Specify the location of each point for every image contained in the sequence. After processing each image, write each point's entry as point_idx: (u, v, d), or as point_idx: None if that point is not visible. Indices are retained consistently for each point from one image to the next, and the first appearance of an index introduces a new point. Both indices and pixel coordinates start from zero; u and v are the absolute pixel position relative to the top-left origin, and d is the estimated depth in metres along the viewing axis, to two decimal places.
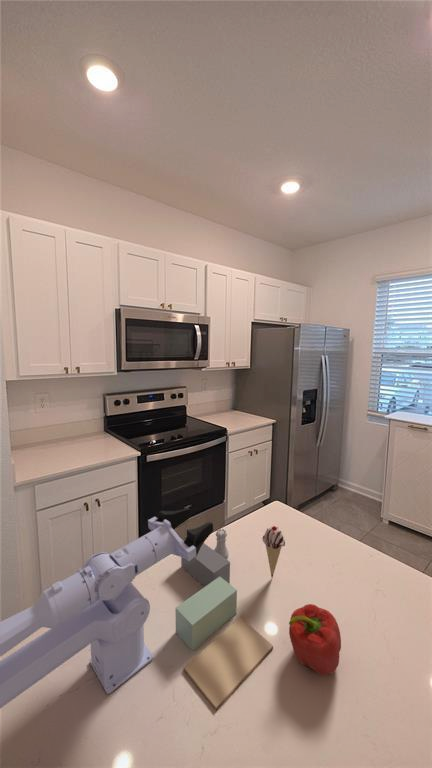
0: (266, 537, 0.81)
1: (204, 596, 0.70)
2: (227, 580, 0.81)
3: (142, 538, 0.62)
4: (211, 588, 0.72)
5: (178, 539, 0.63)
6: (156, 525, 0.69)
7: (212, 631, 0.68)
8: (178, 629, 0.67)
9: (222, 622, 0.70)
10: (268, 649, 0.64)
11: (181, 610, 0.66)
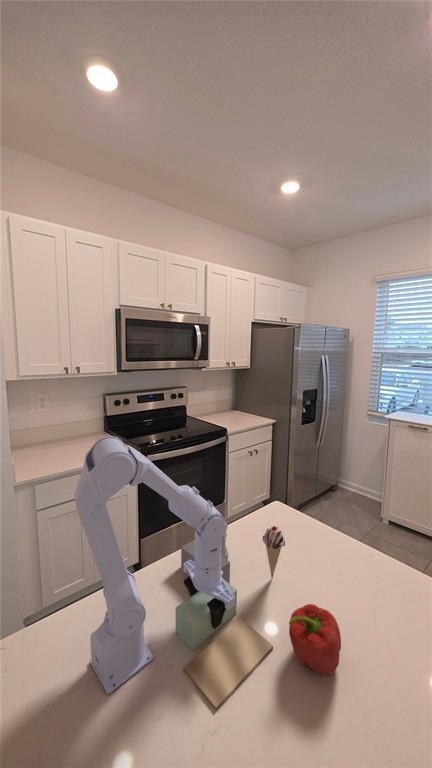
0: (266, 537, 0.81)
1: (204, 596, 0.70)
2: (227, 580, 0.81)
3: None
4: None
5: None
6: None
7: (212, 631, 0.68)
8: (178, 629, 0.67)
9: (222, 622, 0.70)
10: (268, 649, 0.64)
11: (181, 610, 0.66)
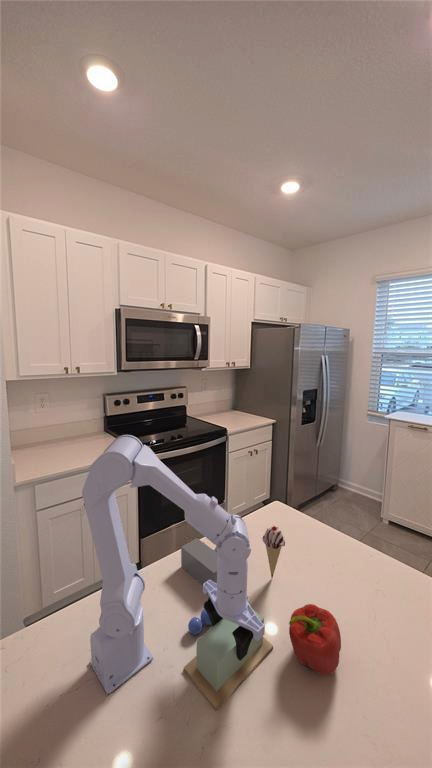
0: (266, 537, 0.81)
1: (228, 626, 0.62)
2: None
3: None
4: None
5: None
6: None
7: (238, 667, 0.60)
8: (199, 665, 0.59)
9: (248, 655, 0.62)
10: (268, 649, 0.64)
11: (203, 644, 0.59)
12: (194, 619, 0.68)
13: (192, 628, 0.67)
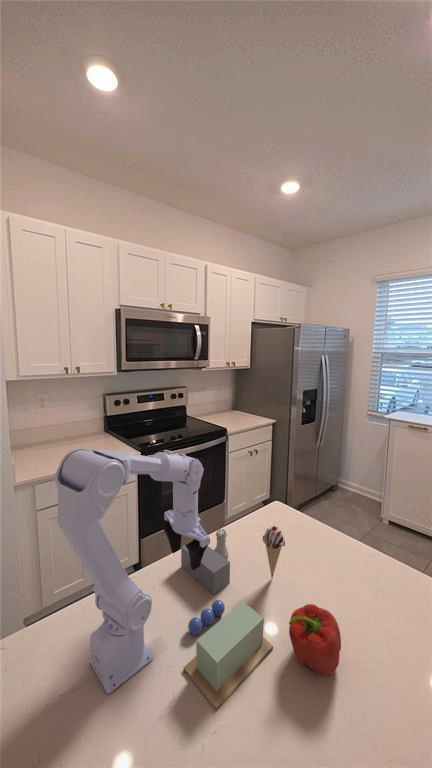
0: (266, 537, 0.81)
1: (228, 626, 0.62)
2: (227, 580, 0.81)
3: None
4: (234, 616, 0.65)
5: None
6: None
7: (238, 667, 0.60)
8: (199, 665, 0.59)
9: (248, 655, 0.62)
10: (268, 649, 0.64)
11: (203, 644, 0.59)
12: (194, 619, 0.68)
13: (192, 628, 0.67)
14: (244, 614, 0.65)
